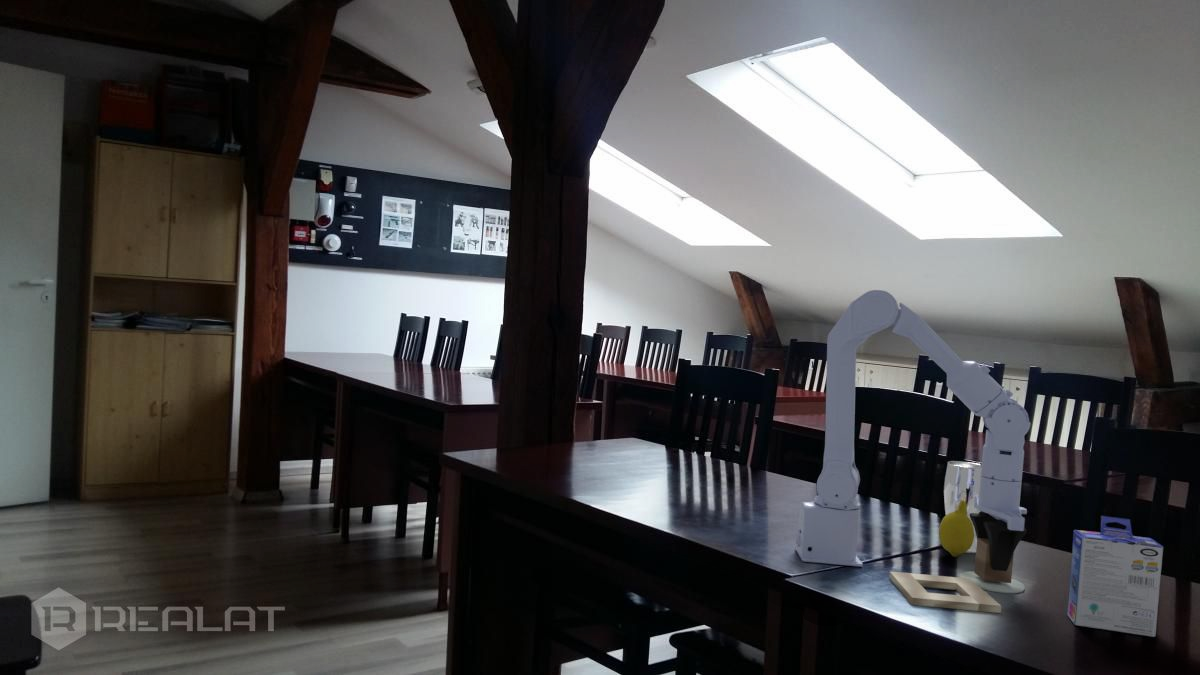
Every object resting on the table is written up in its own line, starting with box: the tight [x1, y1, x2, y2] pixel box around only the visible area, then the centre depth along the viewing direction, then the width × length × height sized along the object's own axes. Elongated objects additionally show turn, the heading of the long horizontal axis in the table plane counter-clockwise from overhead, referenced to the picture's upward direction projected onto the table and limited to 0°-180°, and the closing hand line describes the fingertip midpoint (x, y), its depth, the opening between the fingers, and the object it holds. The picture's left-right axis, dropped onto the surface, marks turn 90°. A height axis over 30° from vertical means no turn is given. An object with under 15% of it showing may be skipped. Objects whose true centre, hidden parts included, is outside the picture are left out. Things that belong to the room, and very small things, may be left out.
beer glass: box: [943, 460, 982, 554], centre depth 151 cm, size 7×7×15 cm
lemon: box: [938, 510, 974, 558], centre depth 146 cm, size 6×6×8 cm
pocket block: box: [888, 570, 1002, 614], centre depth 124 cm, size 12×12×1 cm
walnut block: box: [973, 538, 1015, 583], centre depth 132 cm, size 4×4×6 cm
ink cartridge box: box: [1067, 515, 1164, 638], centre depth 116 cm, size 10×6×14 cm, turn 74°
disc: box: [959, 571, 1025, 594], centre depth 132 cm, size 9×9×1 cm
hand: (993, 565), depth 132 cm, fingers closed on walnut block, 4 cm apart
